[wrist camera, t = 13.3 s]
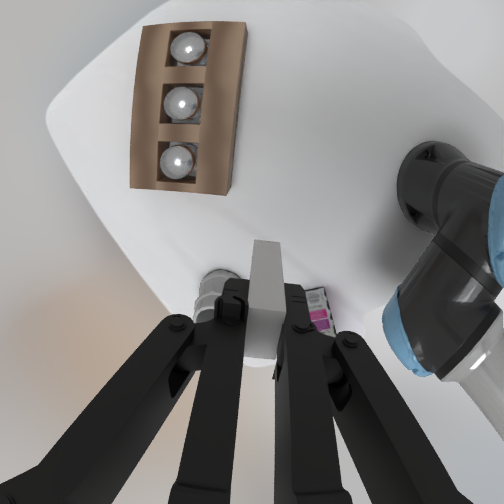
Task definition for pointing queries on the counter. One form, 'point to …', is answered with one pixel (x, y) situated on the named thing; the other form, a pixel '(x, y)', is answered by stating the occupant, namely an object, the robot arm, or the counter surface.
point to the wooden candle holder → (212, 112)
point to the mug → (210, 294)
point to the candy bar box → (320, 311)
